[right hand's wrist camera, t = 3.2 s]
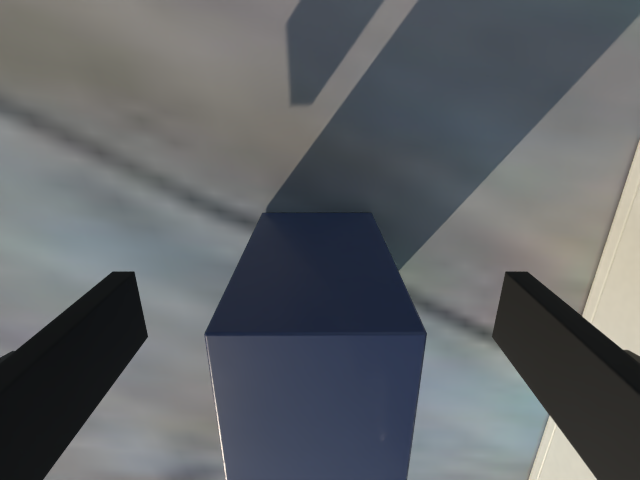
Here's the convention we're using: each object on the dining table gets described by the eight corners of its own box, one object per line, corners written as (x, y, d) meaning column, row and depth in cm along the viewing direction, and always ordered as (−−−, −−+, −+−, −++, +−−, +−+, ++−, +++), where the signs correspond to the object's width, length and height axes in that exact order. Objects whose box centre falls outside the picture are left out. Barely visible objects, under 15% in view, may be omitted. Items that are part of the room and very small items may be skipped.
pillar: (261, 212, 15) (203, 333, 7) (372, 212, 15) (428, 332, 7) (267, 306, 16) (225, 484, 9) (366, 306, 16) (407, 483, 9)
